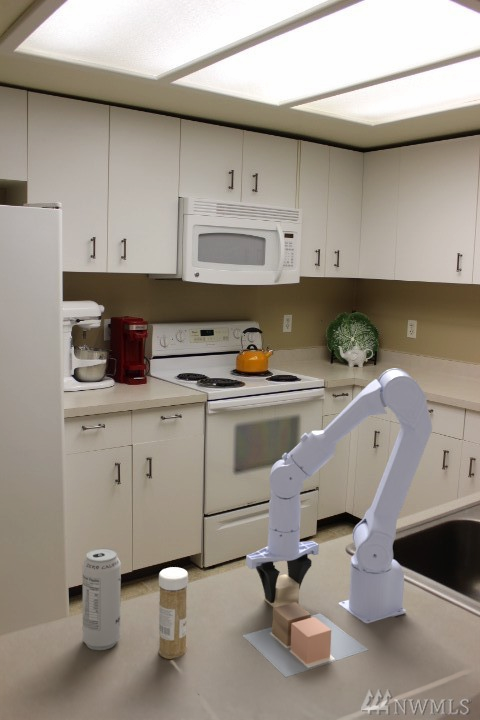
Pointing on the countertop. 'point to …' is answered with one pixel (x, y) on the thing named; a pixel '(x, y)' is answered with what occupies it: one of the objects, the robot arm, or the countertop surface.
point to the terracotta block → (310, 640)
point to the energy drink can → (101, 598)
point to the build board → (290, 661)
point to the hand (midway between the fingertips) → (281, 597)
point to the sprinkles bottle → (172, 612)
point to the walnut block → (287, 620)
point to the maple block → (285, 591)
